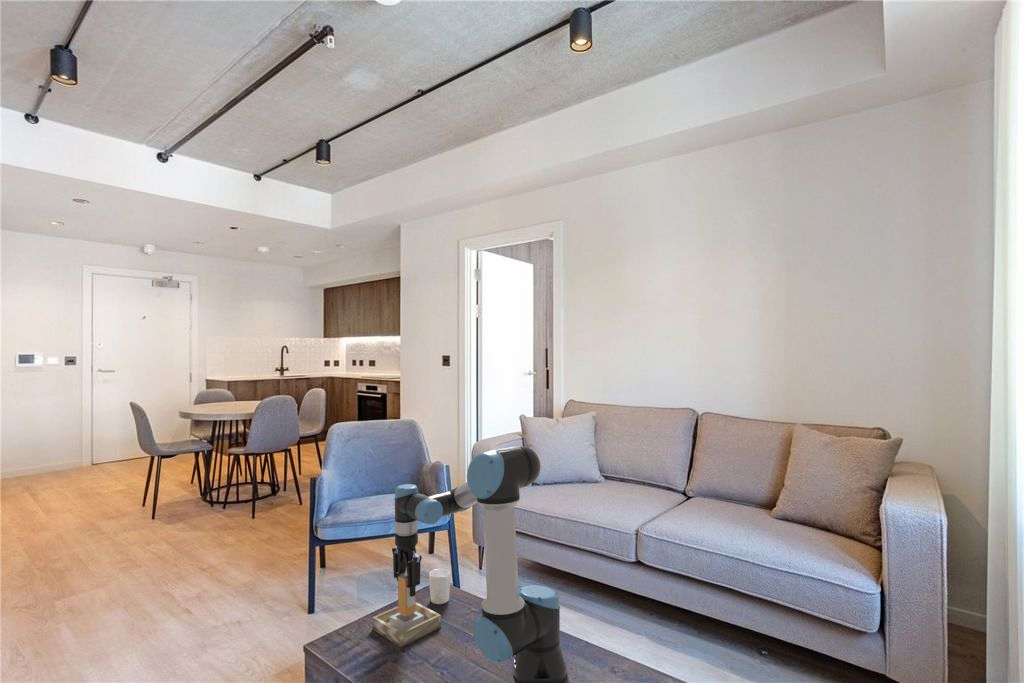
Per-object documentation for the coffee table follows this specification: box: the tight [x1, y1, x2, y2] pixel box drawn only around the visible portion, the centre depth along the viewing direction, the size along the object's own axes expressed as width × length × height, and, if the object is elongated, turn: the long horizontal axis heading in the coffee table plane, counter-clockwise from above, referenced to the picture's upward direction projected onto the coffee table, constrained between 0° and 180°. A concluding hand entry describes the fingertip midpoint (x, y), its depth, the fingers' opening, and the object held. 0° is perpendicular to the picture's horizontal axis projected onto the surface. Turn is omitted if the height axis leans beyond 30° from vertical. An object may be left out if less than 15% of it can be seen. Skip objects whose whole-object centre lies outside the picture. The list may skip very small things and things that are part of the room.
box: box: [371, 601, 442, 648], centre depth 170 cm, size 16×16×4 cm
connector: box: [397, 570, 415, 617], centre depth 170 cm, size 4×4×13 cm
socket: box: [390, 611, 424, 632], centre depth 170 cm, size 8×8×3 cm
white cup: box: [428, 568, 452, 605], centre depth 189 cm, size 8×8×10 cm
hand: (406, 602), depth 170 cm, fingers closed on connector, 4 cm apart
